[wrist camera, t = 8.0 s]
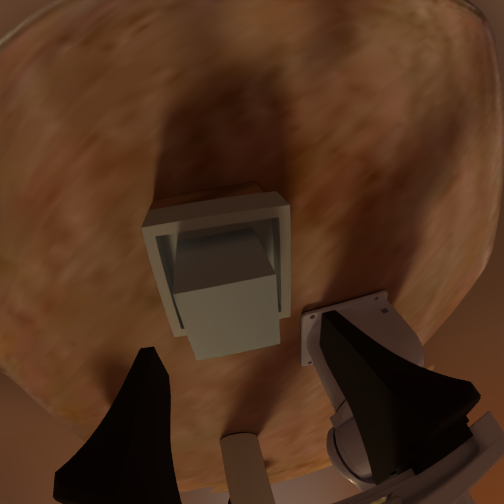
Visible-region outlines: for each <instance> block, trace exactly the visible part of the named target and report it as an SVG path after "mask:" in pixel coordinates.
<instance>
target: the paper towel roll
mask: <svg viewBox="0 0 504 504" xmlns="http://www.w3.org/2000/svg"><path fill="white" fill-rule="evenodd" d="M220 446H221V452H222V457H223V463H224V469H225V474H226V479H227V485H228V490H229V495H230V499H231V504H275V501H274V497H273V494H272V490H271V486H270V483H269V479H268V475H267V472H266V468H265V464H264V460H263V456H262V453H261V449H260V445H259V441H258V437H257V436H256V435H255V434H251V433H238V434H233V435H229V436H226V437H224V438H222V440H221V441H220Z"/></svg>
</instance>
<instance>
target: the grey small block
mask: <svg viewBox="0 0 504 504" xmlns="http://www.w3.org/2000/svg"><path fill="white" fill-rule="evenodd" d="M173 297H174V300H175V303H176V305H177V308H178V311H179V314H180V317H181V320H182V322H183V325H184V328H185V331H186V333H187V336H188V339H189V341H190V344H191V346H192V349H193V352H194V354H195V357H196V359H197V360H203V359H209V358H214V357H220V356H225V355H230V354H235V353H240V352H245V351H250V350H255V349H259V348H263V347H268V346H272V345H276V344H280V328H279V312H278V297H277V283H276V273H275V271H274V269H273V267H272V265H271V263H270V261H269V259H268V257H267V255H266V253H265V251H264V249H263V247H262V245H261V243H260V241H259V240H258V238H257V236H256V234H255V232H254V230H253V228H247V229H241V230H236V231H231V232H225V233H220V234H215V235H209V236H204V237H199V238H194V239H189V240H184V241H179V242H177V246H176V257H175V269H174V283H173Z"/></svg>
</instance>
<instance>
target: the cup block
mask: <svg viewBox="0 0 504 504" xmlns="http://www.w3.org/2000/svg"><path fill="white" fill-rule="evenodd" d="M247 228H253V230H254V232H255V234H256V236H257V238H258V240H259V241H260V243H261V245H262V247H263V249H264V251H265V253H266V255H267V257H268V259H269V261H270V263H271V265H272V267H273V269H274V271H275V273H276V283H277V297H278V312H279V319H282V318H287V317H290V311H291V230H290V204H289V203H288V202H287V201H286V200H285V199H284V198H283V197H282V196H281V195H280V194H279V193H278V192H277V191H273V192H264V193H256V194H248V195H241V196H234V197H226V198H220V199H213V200H206V201H200V202H194V203H187V204H181V205H176V206H170V207H164V208H159V209H153V210H148V213H147V215H146V217H145V220H144V222H143V225H142V227H141V229H142V233H143V237H144V241H145V245H146V248H147V252H148V256H149V259H150V263H151V266H152V270H153V273H154V277H155V280H156V283H157V286H158V290H159V293H160V296H161V299H162V302H163V305H164V308H165V311H166V314H167V317H168V320H169V323H170V326H171V329H172V331H173V334H174V337H178V336H186V335H187V333H186V331H185V328H184V325H183V322H182V320H181V317H180V314H179V311H178V308H177V305H176V303H175V300H174V297H173V283H174V269H175V257H176V246H177V242H179V241H184V240H189V239H194V238H199V237H204V236H209V235H215V234H220V233H225V232H231V231H236V230H241V229H247Z"/></svg>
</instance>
